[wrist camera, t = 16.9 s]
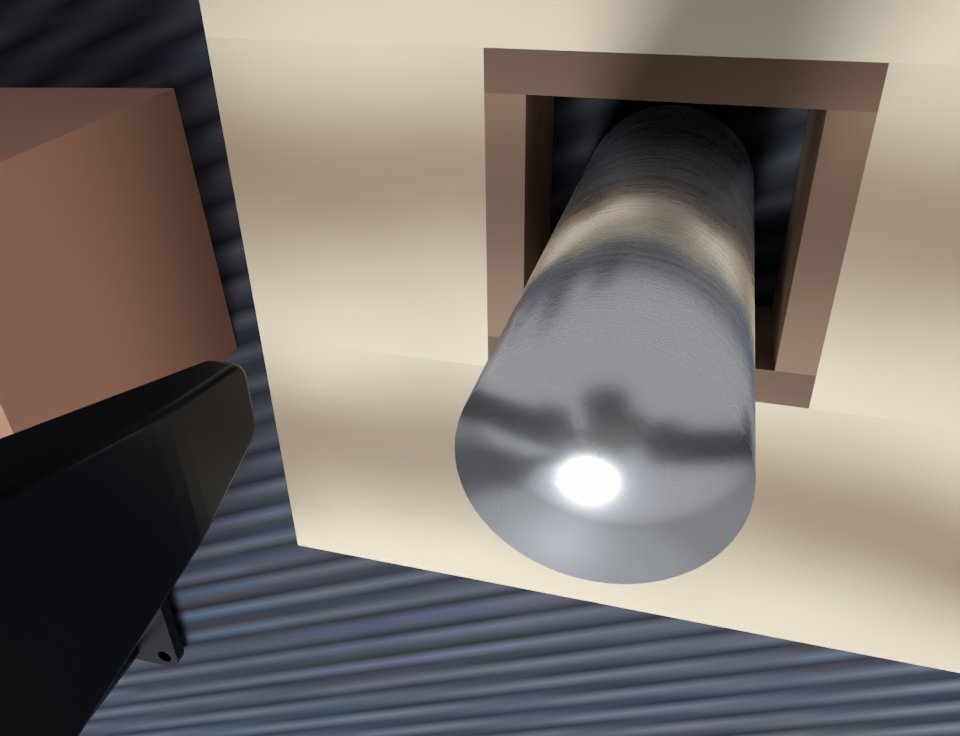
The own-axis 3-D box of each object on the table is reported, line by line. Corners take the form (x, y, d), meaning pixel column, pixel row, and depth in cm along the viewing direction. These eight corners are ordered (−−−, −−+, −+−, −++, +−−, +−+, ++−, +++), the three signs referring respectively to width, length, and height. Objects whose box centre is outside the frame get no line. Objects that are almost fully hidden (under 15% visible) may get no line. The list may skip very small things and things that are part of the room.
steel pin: (740, 271, 17) (731, 607, 9) (582, 255, 17) (459, 556, 10) (766, 109, 15) (782, 365, 8) (589, 100, 16) (449, 325, 8)
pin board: (982, 592, 19) (1010, 682, 17) (338, 482, 23) (298, 545, 21) (1456, -512, 10) (1647, -607, 8) (216, -390, 13) (120, -432, 11)
